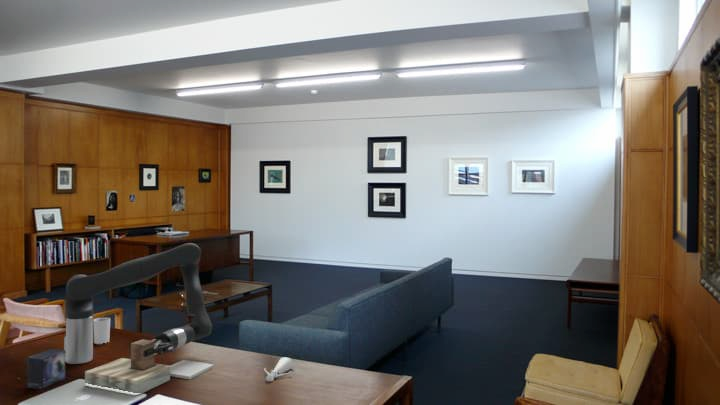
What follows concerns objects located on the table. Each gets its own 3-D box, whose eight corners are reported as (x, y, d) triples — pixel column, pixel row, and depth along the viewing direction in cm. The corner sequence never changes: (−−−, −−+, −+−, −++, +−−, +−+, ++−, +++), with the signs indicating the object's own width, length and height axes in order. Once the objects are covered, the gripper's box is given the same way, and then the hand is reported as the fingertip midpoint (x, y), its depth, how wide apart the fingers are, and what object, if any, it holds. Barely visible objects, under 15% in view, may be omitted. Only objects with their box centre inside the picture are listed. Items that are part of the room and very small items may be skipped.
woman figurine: (302, 356, 199) (282, 375, 182) (302, 367, 199) (283, 387, 182) (274, 353, 202) (252, 371, 185) (275, 364, 202) (252, 383, 185)
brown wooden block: (130, 377, 181) (130, 343, 181) (142, 372, 186) (142, 339, 186) (143, 379, 179) (143, 345, 179) (154, 374, 184) (154, 341, 184)
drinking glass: (113, 341, 229) (113, 318, 229) (100, 345, 223) (100, 322, 223) (103, 339, 232) (103, 316, 232) (89, 343, 226) (89, 320, 226)
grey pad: (157, 373, 190) (157, 371, 190) (183, 362, 203) (183, 359, 203) (189, 379, 185) (189, 376, 185) (213, 367, 198) (213, 364, 198)
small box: (42, 390, 173) (42, 358, 173) (25, 388, 174) (25, 357, 174) (66, 379, 183) (66, 349, 183) (50, 377, 184) (50, 348, 184)
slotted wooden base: (84, 386, 177) (84, 371, 176) (121, 371, 192) (121, 357, 192) (136, 396, 169) (136, 380, 169) (170, 379, 184) (170, 365, 184)
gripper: (155, 328, 198) (121, 339, 182) (186, 332, 193) (154, 344, 177) (155, 347, 198) (121, 361, 182) (186, 352, 193) (153, 366, 177)
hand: (137, 353), depth 180 cm, fingers closed on brown wooden block, 5 cm apart
